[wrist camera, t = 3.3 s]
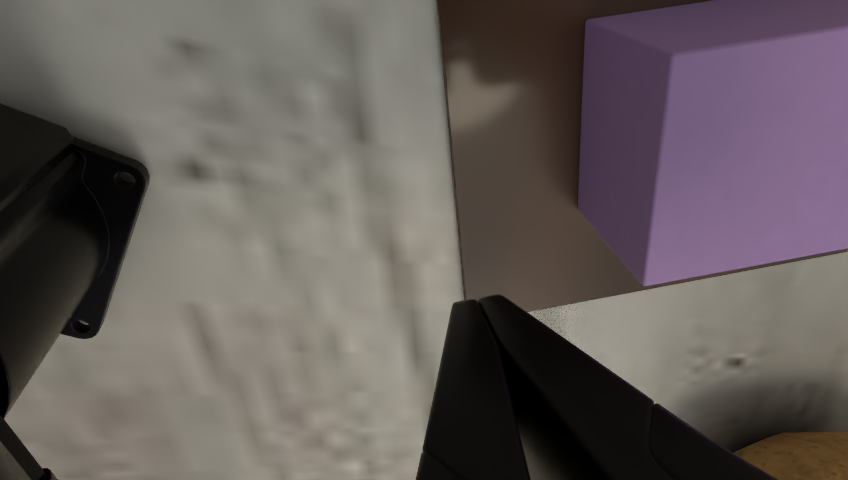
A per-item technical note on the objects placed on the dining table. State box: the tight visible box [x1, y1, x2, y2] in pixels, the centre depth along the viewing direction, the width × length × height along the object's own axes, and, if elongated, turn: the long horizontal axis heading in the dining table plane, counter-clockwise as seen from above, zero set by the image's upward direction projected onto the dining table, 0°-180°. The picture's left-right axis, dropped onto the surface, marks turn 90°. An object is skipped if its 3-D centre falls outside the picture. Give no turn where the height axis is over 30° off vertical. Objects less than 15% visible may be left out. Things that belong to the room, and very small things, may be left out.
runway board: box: [437, 0, 848, 312], centre depth 17 cm, size 15×14×1 cm
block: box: [578, 0, 848, 286], centre depth 15 cm, size 6×6×4 cm
